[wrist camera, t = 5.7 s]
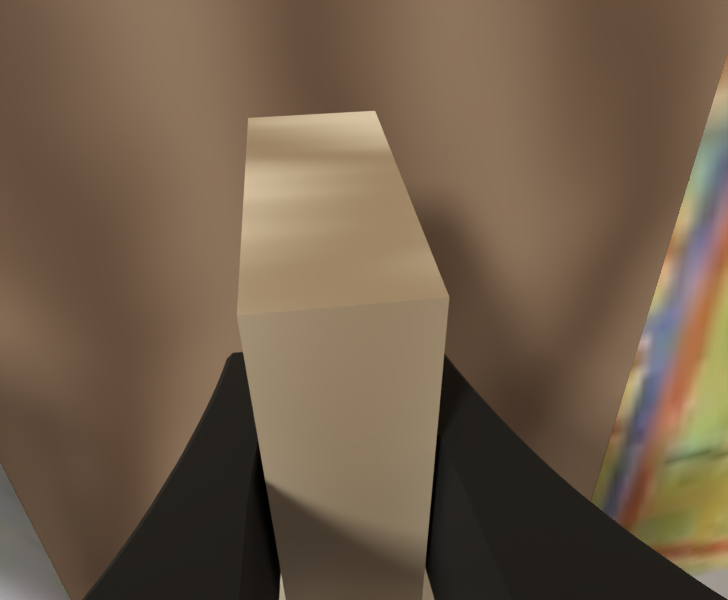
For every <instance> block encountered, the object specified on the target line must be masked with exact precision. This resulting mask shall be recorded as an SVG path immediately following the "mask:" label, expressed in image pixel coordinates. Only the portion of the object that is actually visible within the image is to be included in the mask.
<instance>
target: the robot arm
mask: <svg viewBox="0 0 728 600" xmlns="http://www.w3.org/2000/svg"><path fill="white" fill-rule="evenodd" d="M425 569H426V572H427V576H428V579H429V582H430V586H431V589H432V593H433V596H434V599H435V600H727V599H726V598H724V597H722V596H721V595H719V594H718V593H716V592H714V591H713V590H711V589H710V588H708V587H707V586H705V585H704V584H702V583H701V582H699V581H698V580H696V579H695V578H694V577H692V576H691V575H689V574H688V573H686V572H685V571H684V570H682V569H681V568H679V567H678V566H676V565H675V564H674V563H672V562H671V561H669V560H668V559H666V558H665V557H663V556H662V555H661V554H659V553H658V552H656V551H655V550H653V549H652V548H651V547H649V546H648V545H646V544H645V543H643V542H642V541H641V540H639V539H638V538H636V537H635V536H634V535H632V534H631V533H630V532H628V531H627V530H626V529H624V528H623V527H622V526H621V525H619V524H618V523H617V522H615V521H614V520H613V519H612V518H610V517H609V516H608V515H606V514H605V513H604V512H602V511H601V510H600V509H599V508H598V507H596V506H595V505H594V504H593V503H592V502H590V501H589V500H588V499H587V498H586V497H584V496H583V495H582V494H581V493H579V492H578V491H577V490H576V489H575V488H574V487H572V486H571V485H570V484H569V483H568V482H567V481H566V480H564V479H563V478H562V477H561V476H560V475H559V474H558V473H557V472H555V471H554V470H553V469H552V468H551V467H550V466H549V465H548V464H547V463H546V462H545V461H544V460H542V459H541V458H540V457H539V456H538V455H537V454H536V453H535V452H534V451H533V450H532V449H531V448H530V447H529V446H528V445H527V444H526V443H525V442H524V441H523V440H522V439H521V438H520V437H519V436H518V435H517V434H516V433H515V432H514V431H513V430H512V429H511V428H510V427H509V426H508V425H507V424H506V423H505V422H504V421H503V420H502V419H501V418H500V417H499V416H498V414H497V413H496V412H495V411H494V410H493V409H492V408H491V407H490V406H489V405H488V404H487V403H486V402H485V401H484V399H483V398H482V397H481V396H480V395H479V394H478V393H477V392H476V390H475V389H474V388H473V387H472V386H471V385H470V384H469V382H468V381H467V380H466V379H465V378H464V377H463V375H462V374H461V373H460V372H459V371H458V369H457V368H456V367H455V366H454V364H453V363H452V362H451V361H450V360H449V358H448V357H447V356H446V355H445V353H444V362H443V373H442V385H441V396H440V407H439V418H438V429H437V440H436V451H435V462H434V473H433V484H432V495H431V506H430V517H429V528H428V540H427V551H426V562H425ZM280 577H281V569H280V564H279V558H278V552H277V546H276V540H275V535H274V529H273V523H272V517H271V511H270V506H269V500H268V494H267V488H266V482H265V477H264V471H263V465H262V459H261V453H260V448H259V442H258V436H257V430H256V425H255V419H254V413H253V407H252V401H251V396H250V390H249V384H248V378H247V372H246V367H245V361H244V355H243V352H236V353H232V354H231V355H230V356H229V357H228V358H227V359H226V362H225V365H224V368H223V371H222V373H221V376H220V378H219V381H218V383H217V385H216V388H215V390H214V392H213V394H212V397H211V399H210V401H209V403H208V405H207V407H206V409H205V411H204V413H203V415H202V417H201V419H200V421H199V423H198V425H197V427H196V429H195V431H194V432H193V434H192V436H191V438H190V440H189V442H188V444H187V446H186V448H185V449H184V451H183V453H182V455H181V457H180V458H179V460H178V462H177V464H176V465H175V467H174V468H173V470H172V472H171V473H170V475H169V477H168V478H167V480H166V482H165V483H164V485H163V486H162V488H161V490H160V491H159V493H158V495H157V496H156V498H155V499H154V501H153V503H152V504H151V506H150V507H149V509H148V510H147V512H146V513H145V515H144V516H143V518H142V519H141V521H140V522H139V524H138V525H137V527H136V528H135V530H134V531H133V533H132V534H131V536H130V537H129V538H128V540H127V541H126V543H125V544H124V545H123V547H122V548H121V549H120V551H119V552H118V554H117V555H116V556H115V558H114V559H113V560H112V562H111V563H110V565H109V566H108V567H107V569H106V570H105V571H104V573H103V574H102V575H101V576H100V578H99V579H98V580H97V581H96V583H95V584H94V585H93V587H92V588H91V589H90V590H89V592H88V593H87V594H86V595H85V597H84V598H83V599H82V600H279V595H280Z"/></svg>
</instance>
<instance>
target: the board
mask: <svg viewBox="0 0 728 600" xmlns="http://www.w3.org/2000/svg"><path fill="white" fill-rule="evenodd" d="M727 53H728V0H0V462H1V464H2V466H3V468H4V470H5V472H6V474H7V476H8V478H9V480H10V482H11V484H12V486H13V488H14V490H15V492H16V493H17V495H18V497H19V499H20V501H21V503H22V505H23V507H24V509H25V511H26V513H27V515H28V517H29V519H30V521H31V523H32V525H33V527H34V529H35V531H36V533H37V534H38V536H39V538H40V540H41V542H42V544H43V546H44V548H45V550H46V552H47V554H48V556H49V558H50V560H51V562H52V564H53V566H54V568H55V570H56V572H57V573H58V575H59V577H60V579H61V581H62V583H63V585H64V587H65V589H66V591H67V593H68V595H69V597H70V599H71V600H82V599H83V598H84V597H85V595H86V594H87V593H88V592H89V590H90V589H91V588H92V587H93V585H94V584H95V583H96V581H97V580H98V579H99V578H100V576H101V575H102V574H103V573H104V571H105V570H106V569H107V567H108V566H109V565H110V563H111V562H112V560H113V559H114V558H115V556H116V555H117V554H118V552H119V551H120V549H121V548H122V547H123V545H124V544H125V543H126V541H127V540H128V538H129V537H130V536H131V534H132V533H133V531H134V530H135V528H136V527H137V525H138V524H139V522H140V521H141V519H142V518H143V516H144V515H145V513H146V512H147V510H148V509H149V507H150V506H151V504H152V503H153V501H154V499H155V498H156V496H157V495H158V493H159V491H160V490H161V488H162V486H163V485H164V483H165V482H166V480H167V478H168V477H169V475H170V473H171V472H172V470H173V468H174V467H175V465H176V464H177V462H178V460H179V458H180V457H181V455H182V453H183V451H184V449H185V448H186V446H187V444H188V442H189V440H190V438H191V436H192V434H193V432H194V431H195V429H196V427H197V425H198V423H199V421H200V419H201V417H202V415H203V413H204V411H205V409H206V407H207V405H208V403H209V401H210V399H211V397H212V394H213V392H214V390H215V388H216V385H217V383H218V381H219V378H220V376H221V373H222V371H223V368H224V365H225V362H226V359H227V358H228V357H229V356H230V355H231V354H232V353H236V352H243V349H242V343H241V338H240V332H239V326H238V320H237V302H238V285H239V268H240V250H241V233H242V216H243V198H244V181H245V164H246V147H247V129H248V118H256V117H274V116H291V115H309V114H327V113H344V112H362V111H375V112H376V114H377V117H378V119H379V122H380V124H381V127H382V129H383V132H384V134H385V137H386V139H387V142H388V144H389V147H390V149H391V152H392V155H393V157H394V160H395V162H396V165H397V167H398V170H399V172H400V175H401V177H402V180H403V182H404V185H405V187H406V190H407V192H408V195H409V197H410V200H411V202H412V205H413V207H414V210H415V212H416V215H417V217H418V220H419V222H420V225H421V227H422V230H423V232H424V235H425V237H426V240H427V242H428V245H429V247H430V250H431V252H432V255H433V257H434V260H435V262H436V265H437V267H438V270H439V272H440V275H441V277H442V280H443V282H444V285H445V287H446V290H447V292H448V295H449V307H448V318H447V329H446V340H445V351H444V353H445V355H446V356H447V357H448V358H449V360H450V361H451V362H452V363H453V364H454V366H455V367H456V368H457V369H458V371H459V372H460V373H461V374H462V375H463V377H464V378H465V379H466V380H467V381H468V382H469V384H470V385H471V386H472V387H473V388H474V389H475V390H476V392H477V393H478V394H479V395H480V396H481V397H482V398H483V399H484V401H485V402H486V403H487V404H488V405H489V406H490V407H491V408H492V409H493V410H494V411H495V412H496V413H497V414H498V416H499V417H500V418H501V419H502V420H503V421H504V422H505V423H506V424H507V425H508V426H509V427H510V428H511V429H512V430H513V431H514V432H515V433H516V434H517V435H518V436H519V437H520V438H521V439H522V440H523V441H524V442H525V443H526V444H527V445H528V446H529V447H530V448H531V449H532V450H533V451H534V452H535V453H536V454H537V455H538V456H539V457H540V458H541V459H542V460H544V461H545V462H546V463H547V464H548V465H549V466H550V467H551V468H552V469H553V470H554V471H555V472H557V473H558V474H559V475H560V476H561V477H562V478H563V479H564V480H566V481H567V482H568V483H569V484H570V485H571V486H572V487H574V488H575V489H576V490H577V491H578V492H579V493H581V494H582V495H583V496H584V497H586V498H587V499H588V500H589V501H590V502H591V499H592V495H593V492H594V489H595V486H596V482H597V479H598V476H599V472H600V469H601V466H602V463H603V459H604V456H605V453H606V450H607V446H608V443H609V440H610V436H611V433H612V430H613V427H614V423H615V420H616V417H617V414H618V410H619V407H620V404H621V400H622V397H623V394H624V391H625V387H626V384H627V381H628V378H629V374H630V371H631V368H632V364H633V361H634V358H635V355H636V351H637V348H638V345H639V342H640V338H641V335H642V332H643V328H644V325H645V322H646V319H647V315H648V312H649V309H650V305H651V302H652V299H653V296H654V292H655V289H656V286H657V283H658V279H659V276H660V273H661V269H662V266H663V263H664V260H665V256H666V253H667V250H668V247H669V243H670V240H671V237H672V233H673V230H674V227H675V224H676V220H677V217H678V214H679V211H680V207H681V204H682V201H683V197H684V194H685V191H686V188H687V184H688V181H689V178H690V175H691V171H692V168H693V165H694V161H695V158H696V155H697V152H698V148H699V145H700V142H701V139H702V135H703V132H704V129H705V125H706V122H707V119H708V116H709V112H710V109H711V106H712V103H713V99H714V96H715V93H716V89H717V86H718V83H719V80H720V76H721V73H722V70H723V67H724V63H725V60H726V57H727Z"/></svg>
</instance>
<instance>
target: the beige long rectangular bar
mask: <svg viewBox="0 0 728 600" xmlns="http://www.w3.org/2000/svg"><path fill="white" fill-rule="evenodd" d="M448 307H449V295H448V292H447V290H446V287H445V285H444V282H443V280H442V277H441V275H440V272H439V270H438V267H437V265H436V262H435V260H434V257H433V255H432V252H431V250H430V247H429V245H428V242H427V240H426V237H425V235H424V232H423V230H422V227H421V225H420V222H419V220H418V217H417V215H416V212H415V210H414V207H413V205H412V202H411V200H410V197H409V195H408V192H407V190H406V187H405V185H404V182H403V180H402V177H401V175H400V172H399V170H398V167H397V165H396V162H395V160H394V157H393V155H392V152H391V149H390V147H389V144H388V142H387V139H386V137H385V134H384V132H383V129H382V127H381V124H380V122H379V119H378V117H377V114H376V112H375V111H362V112H344V113H327V114H309V115H291V116H274V117H256V118H248V129H247V147H246V164H245V181H244V198H243V216H242V233H241V250H240V268H239V285H238V302H237V320H238V326H239V332H240V338H241V343H242V349H243V355H244V361H245V367H246V372H247V378H248V384H249V390H250V396H251V401H252V407H253V413H254V419H255V425H256V430H257V436H258V442H259V448H260V453H261V459H262V465H263V471H264V477H265V482H266V488H267V494H268V500H269V506H270V511H271V517H272V523H273V529H274V535H275V540H276V546H277V552H278V558H279V564H280V569H281V575H282V581H283V587H284V593H285V598H286V600H422V595H423V584H424V573H425V562H426V551H427V540H428V528H429V517H430V506H431V495H432V484H433V473H434V462H435V451H436V440H437V429H438V418H439V407H440V396H441V385H442V373H443V362H444V351H445V340H446V329H447V318H448Z"/></svg>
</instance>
